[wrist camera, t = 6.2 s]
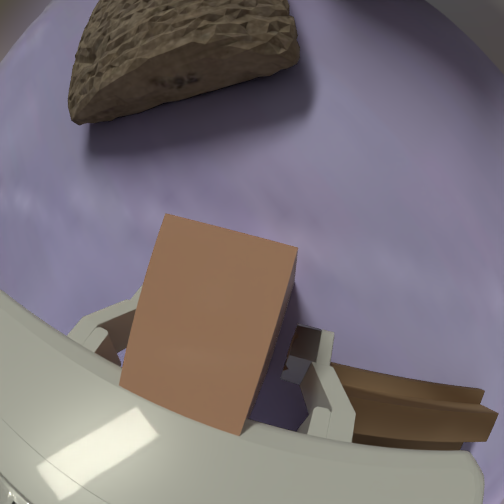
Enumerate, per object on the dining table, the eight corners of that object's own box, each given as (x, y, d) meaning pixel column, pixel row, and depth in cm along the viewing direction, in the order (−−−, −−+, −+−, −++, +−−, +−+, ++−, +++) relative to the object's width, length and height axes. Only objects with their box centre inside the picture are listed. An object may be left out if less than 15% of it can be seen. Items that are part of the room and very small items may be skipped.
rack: (400, 532, 13) (410, 554, 9) (262, 521, 15) (256, 547, 12) (479, 388, 14) (504, 398, 11) (330, 362, 16) (339, 374, 13)
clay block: (265, 375, 17) (227, 467, 6) (211, 357, 17) (113, 417, 7) (294, 281, 18) (298, 247, 7) (239, 265, 18) (165, 213, 8)
